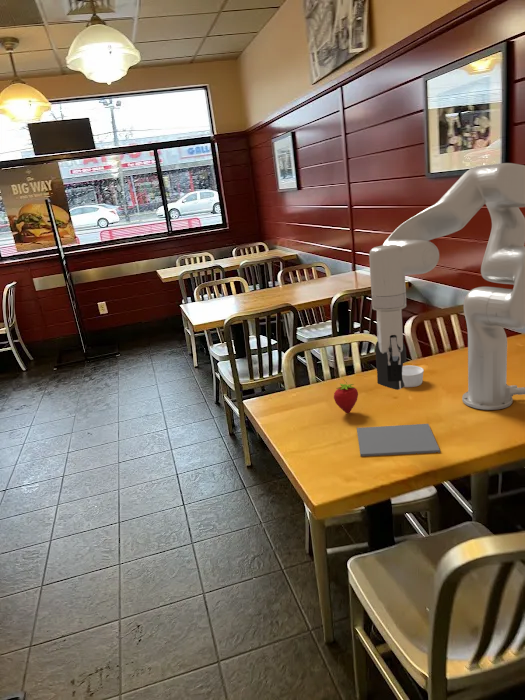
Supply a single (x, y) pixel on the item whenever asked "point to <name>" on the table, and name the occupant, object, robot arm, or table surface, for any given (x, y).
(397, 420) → the table surface
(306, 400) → the table surface
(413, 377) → the ramekin
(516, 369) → the table surface
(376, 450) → the mat
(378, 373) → the battery charger
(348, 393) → the strawberry
